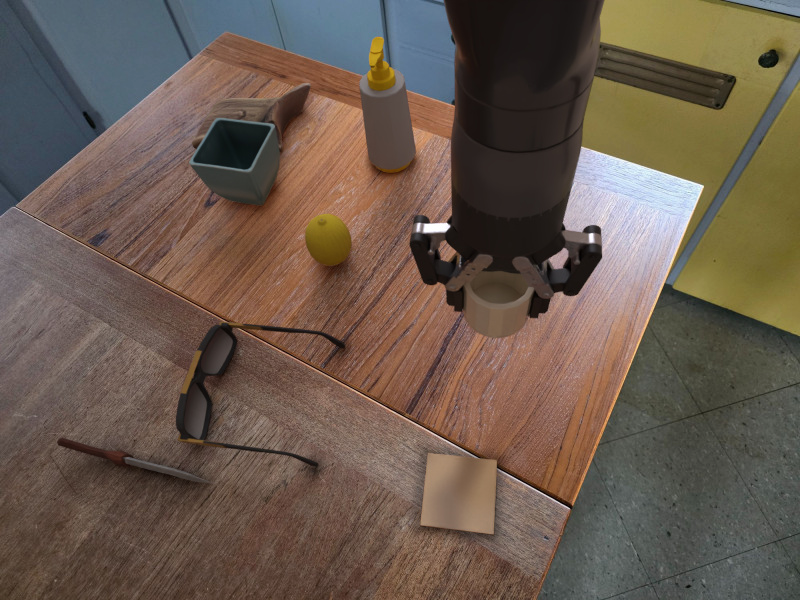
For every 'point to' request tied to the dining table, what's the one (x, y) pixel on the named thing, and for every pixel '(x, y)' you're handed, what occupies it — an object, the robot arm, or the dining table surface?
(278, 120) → the fragment
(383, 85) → the soap bottle
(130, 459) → the knife
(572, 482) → the dining table surface
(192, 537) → the dining table surface
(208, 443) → the sunglasses
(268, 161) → the flower pot
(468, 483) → the near coaster
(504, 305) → the cream dish
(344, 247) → the lemon
